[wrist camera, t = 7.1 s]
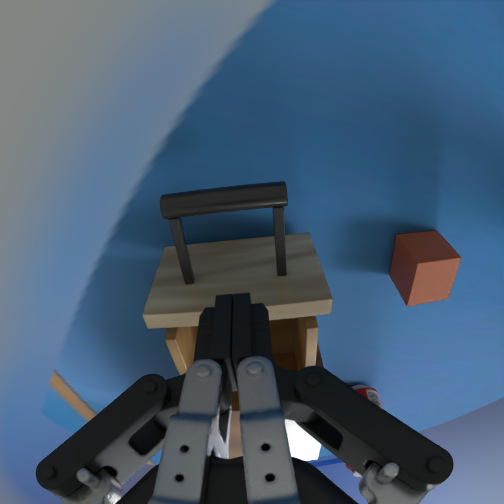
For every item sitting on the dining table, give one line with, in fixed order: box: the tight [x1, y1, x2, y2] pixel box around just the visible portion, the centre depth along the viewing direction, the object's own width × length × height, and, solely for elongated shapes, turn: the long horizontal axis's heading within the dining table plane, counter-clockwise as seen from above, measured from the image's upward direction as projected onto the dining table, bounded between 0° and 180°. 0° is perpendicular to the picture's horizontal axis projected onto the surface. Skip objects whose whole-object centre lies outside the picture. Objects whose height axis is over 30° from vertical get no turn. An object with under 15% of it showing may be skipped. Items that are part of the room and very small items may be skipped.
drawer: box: [143, 181, 333, 403], centre depth 24 cm, size 20×11×8 cm, turn 5°
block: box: [389, 231, 461, 306], centre depth 26 cm, size 4×4×4 cm
